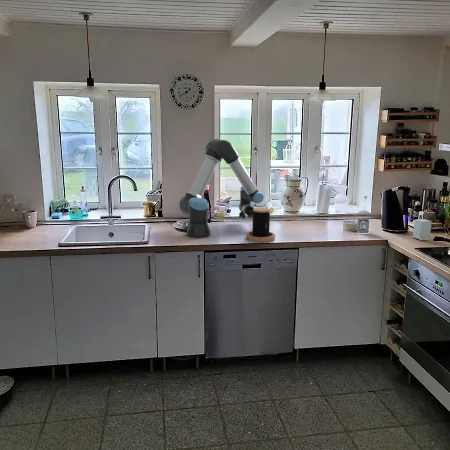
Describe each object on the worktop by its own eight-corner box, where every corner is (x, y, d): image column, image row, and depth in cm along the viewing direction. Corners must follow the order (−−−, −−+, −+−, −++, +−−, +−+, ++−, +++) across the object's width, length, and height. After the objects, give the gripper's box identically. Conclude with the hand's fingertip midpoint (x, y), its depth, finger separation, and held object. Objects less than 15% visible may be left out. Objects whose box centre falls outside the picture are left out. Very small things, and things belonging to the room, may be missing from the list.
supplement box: (429, 241, 274) (432, 221, 271) (419, 241, 273) (421, 221, 270) (422, 238, 281) (425, 218, 278) (412, 238, 280) (414, 219, 277)
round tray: (251, 242, 262) (251, 238, 261) (243, 235, 279) (243, 231, 278) (278, 241, 266) (278, 237, 265) (269, 234, 282) (269, 230, 282)
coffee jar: (268, 240, 266) (269, 211, 262) (250, 239, 268) (251, 210, 264) (269, 236, 276) (271, 208, 272) (253, 235, 278) (254, 207, 274)
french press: (366, 235, 285) (370, 197, 279) (349, 232, 292) (352, 195, 286) (372, 232, 293) (375, 195, 287) (355, 229, 300) (358, 194, 294)
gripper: (266, 215, 302) (275, 222, 281) (231, 216, 297) (238, 223, 276) (266, 205, 300) (276, 211, 280) (231, 205, 295) (238, 212, 275)
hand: (257, 217), depth 278 cm, fingers open, 13 cm apart
